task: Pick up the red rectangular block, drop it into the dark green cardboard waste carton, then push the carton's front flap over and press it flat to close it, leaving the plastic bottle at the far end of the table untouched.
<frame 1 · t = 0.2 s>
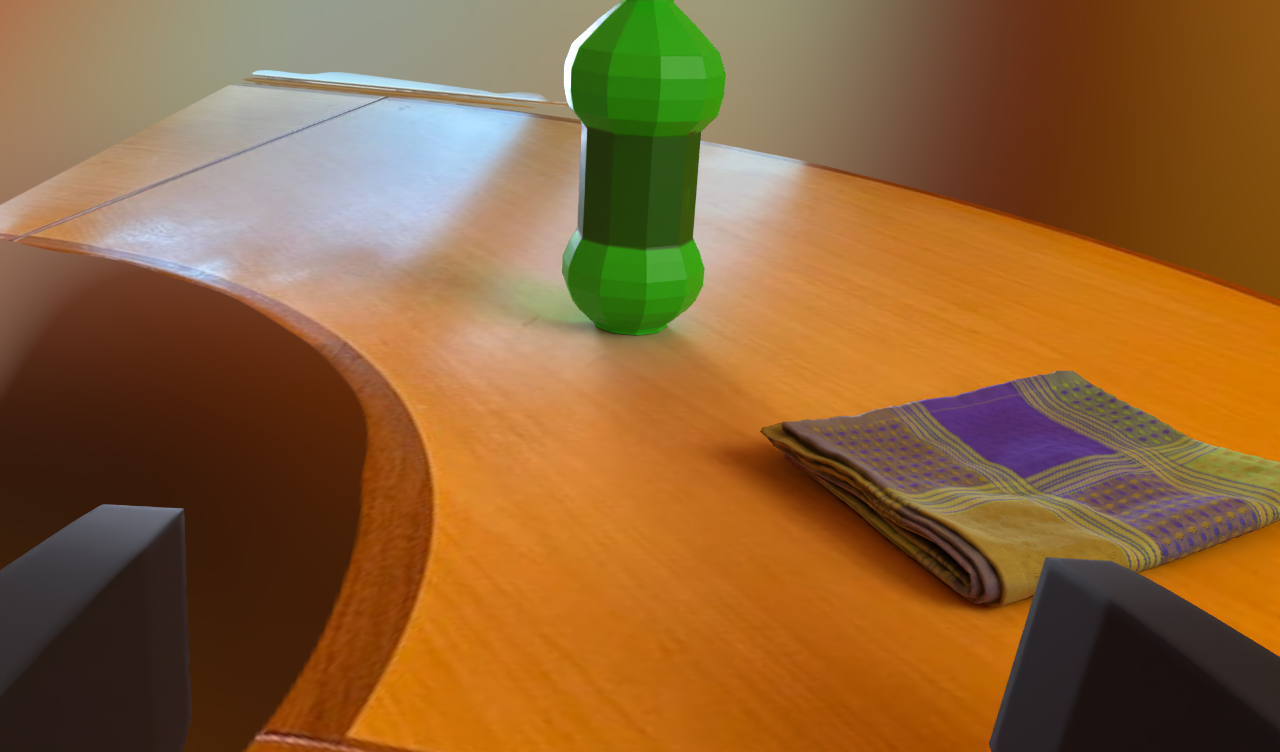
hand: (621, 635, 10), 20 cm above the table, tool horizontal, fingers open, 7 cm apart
dish towel: (1032, 493, 60), on the table
plastic bottle: (629, 325, 82), on the table
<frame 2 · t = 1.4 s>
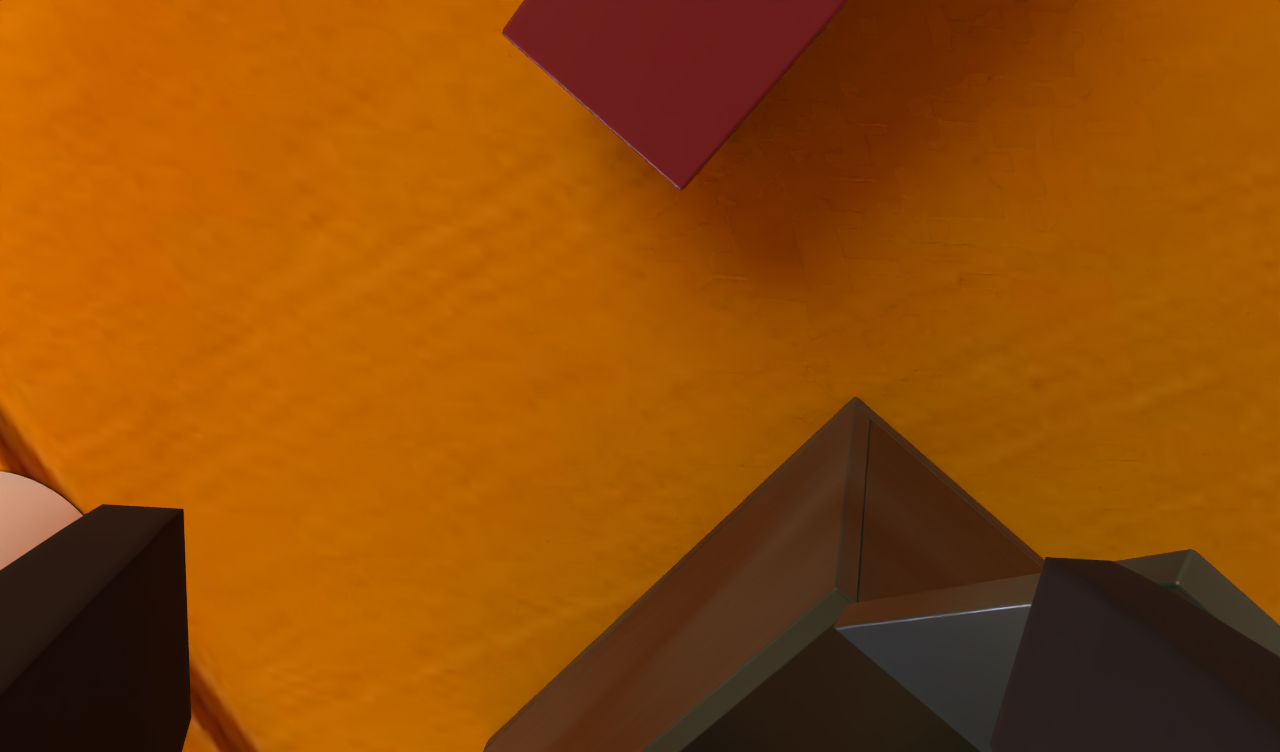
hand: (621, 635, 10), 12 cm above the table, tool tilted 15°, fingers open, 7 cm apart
white paper towel roll: (29, 559, 27), on the table
waste carton: (831, 734, 24), on the table
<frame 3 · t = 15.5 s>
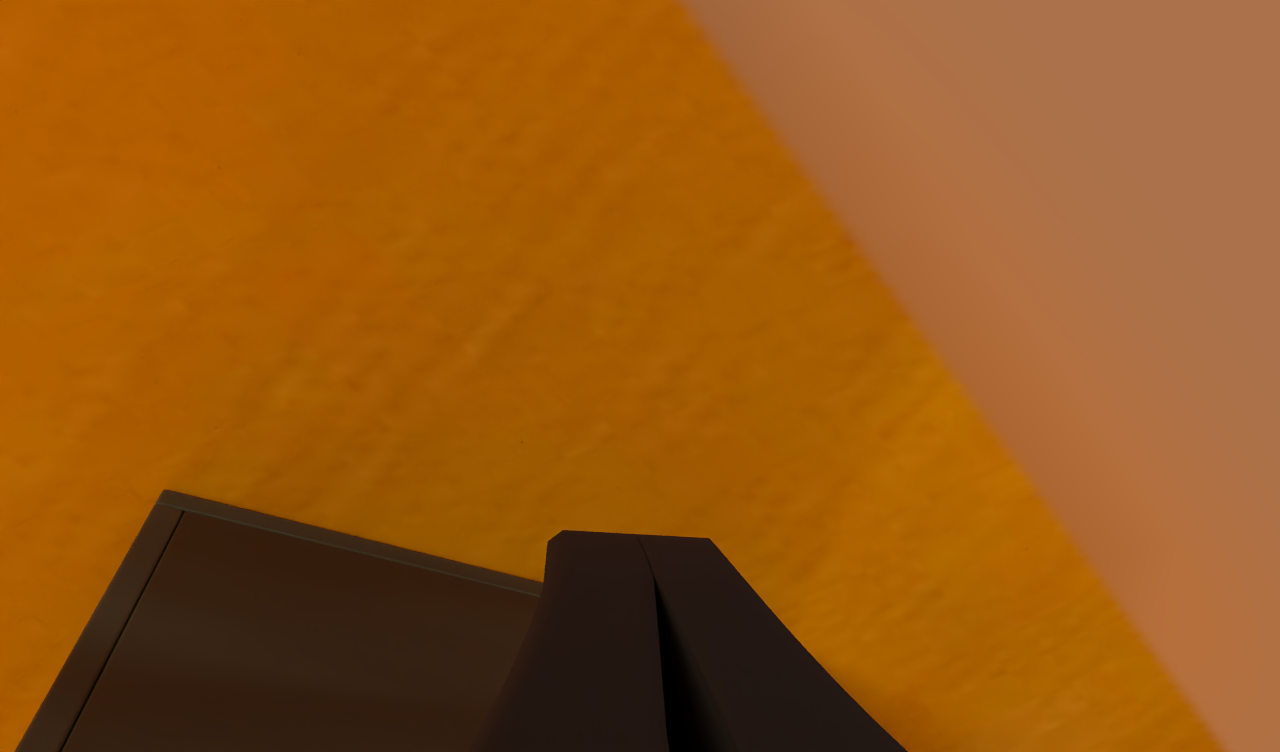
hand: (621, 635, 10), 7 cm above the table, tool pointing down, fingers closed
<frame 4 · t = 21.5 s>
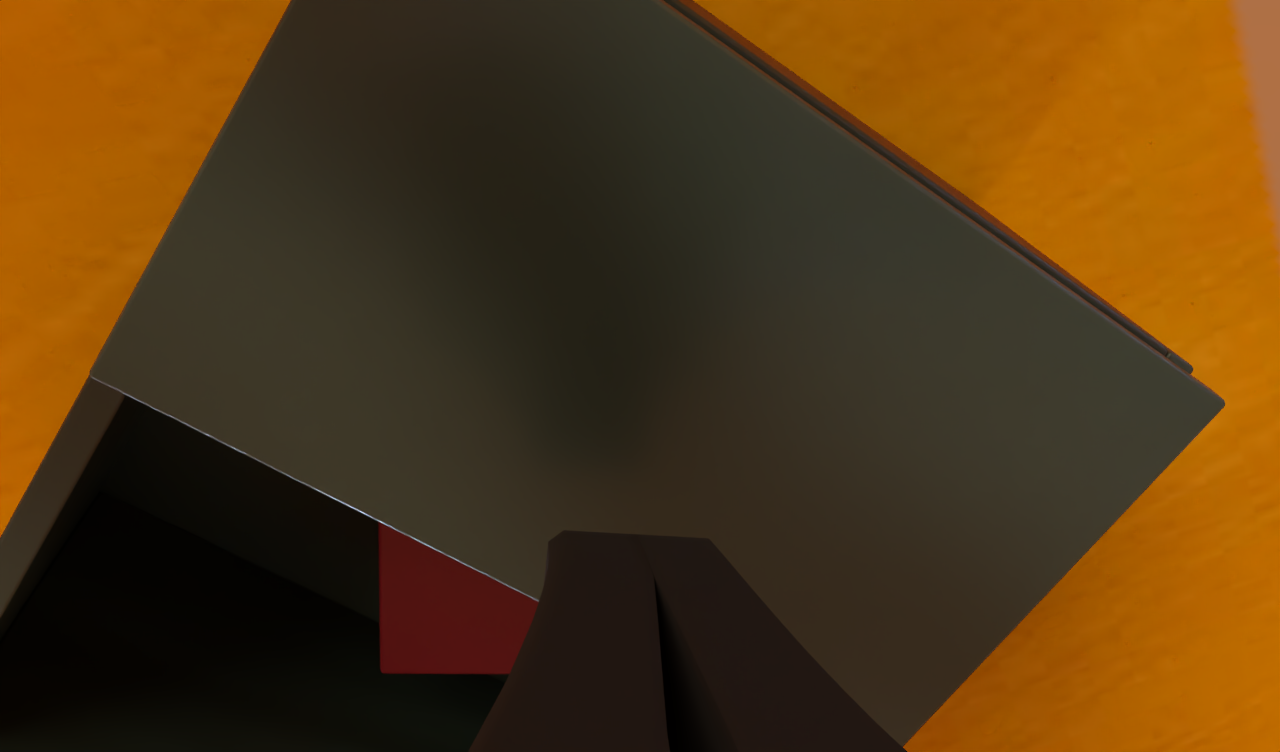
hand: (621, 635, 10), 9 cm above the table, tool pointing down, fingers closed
waste carton: (523, 348, 19), on the table
carton flap: (683, 382, 12), point 7 cm above the table, hinge at -1.4°
red rectangular block: (511, 347, 18), resting on waste carton
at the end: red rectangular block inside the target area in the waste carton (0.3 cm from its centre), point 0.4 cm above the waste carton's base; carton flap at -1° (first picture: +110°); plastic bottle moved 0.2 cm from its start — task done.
